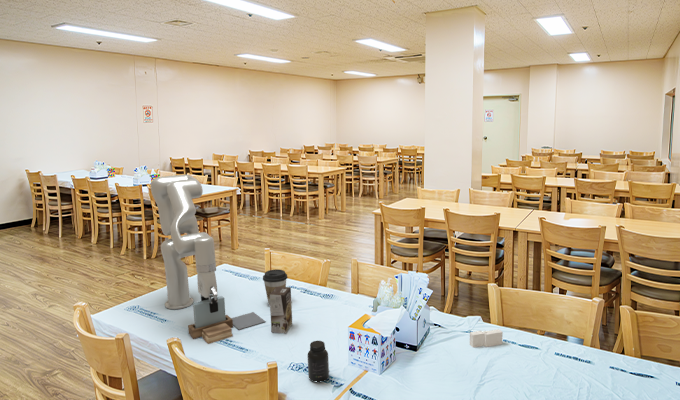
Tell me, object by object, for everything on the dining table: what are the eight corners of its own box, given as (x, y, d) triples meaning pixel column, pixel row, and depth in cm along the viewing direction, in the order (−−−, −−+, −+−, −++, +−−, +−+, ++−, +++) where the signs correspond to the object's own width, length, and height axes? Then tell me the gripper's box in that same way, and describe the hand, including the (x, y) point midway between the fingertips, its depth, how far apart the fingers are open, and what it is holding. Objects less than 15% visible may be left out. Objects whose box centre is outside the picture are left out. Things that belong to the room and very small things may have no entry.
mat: (227, 320, 200) (227, 319, 200) (253, 313, 207) (253, 312, 206) (238, 330, 190) (238, 329, 190) (265, 322, 197) (265, 321, 197)
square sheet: (195, 333, 188) (192, 303, 186) (224, 325, 195) (221, 295, 193) (197, 336, 186) (195, 305, 184) (226, 327, 193) (224, 297, 191)
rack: (188, 333, 188) (187, 325, 188) (227, 322, 198) (226, 314, 197) (193, 339, 184) (192, 330, 183) (233, 327, 193) (232, 319, 192)
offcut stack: (201, 338, 185) (201, 329, 184) (225, 330, 191) (225, 322, 190) (208, 344, 180) (207, 336, 179) (232, 337, 185) (232, 328, 185)
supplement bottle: (308, 372, 158) (306, 339, 156) (328, 371, 158) (327, 338, 156) (308, 384, 151) (307, 349, 149) (329, 382, 152) (328, 348, 149)
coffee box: (286, 333, 186) (284, 295, 183) (270, 332, 188) (268, 294, 185) (293, 323, 195) (291, 286, 192) (278, 322, 196) (276, 286, 194)
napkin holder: (506, 341, 176) (506, 327, 175) (504, 355, 166) (504, 340, 165) (465, 335, 182) (465, 321, 181) (461, 348, 172) (461, 334, 171)
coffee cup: (259, 306, 213) (257, 275, 211) (272, 297, 224) (270, 267, 221) (281, 310, 209) (279, 278, 206) (293, 300, 219) (291, 269, 217)
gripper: (189, 264, 191) (193, 304, 193) (204, 274, 177) (208, 317, 179) (207, 260, 195) (211, 300, 198) (223, 270, 181) (226, 312, 184)
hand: (209, 308), depth 189 cm, fingers open, 9 cm apart
